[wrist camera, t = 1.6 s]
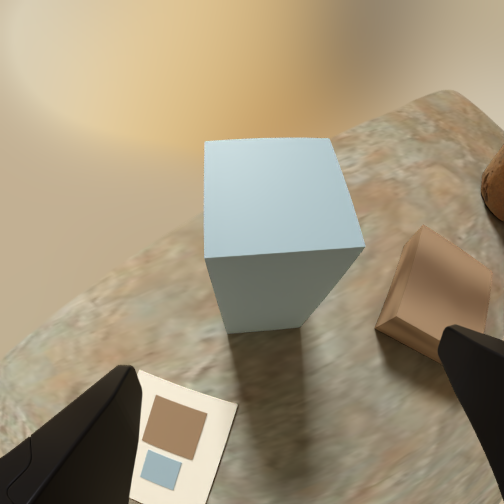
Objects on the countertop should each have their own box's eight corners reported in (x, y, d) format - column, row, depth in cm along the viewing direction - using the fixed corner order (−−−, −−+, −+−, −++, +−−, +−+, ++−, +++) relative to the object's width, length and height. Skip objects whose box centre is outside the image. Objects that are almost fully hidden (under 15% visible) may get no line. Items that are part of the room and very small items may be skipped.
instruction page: (198, 522, 13) (197, 524, 12) (106, 484, 13) (105, 485, 13) (237, 404, 17) (237, 404, 17) (140, 369, 18) (138, 369, 17)
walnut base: (449, 368, 18) (476, 361, 15) (374, 328, 19) (396, 316, 16) (469, 286, 21) (492, 271, 18) (404, 245, 23) (423, 224, 19)
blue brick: (300, 327, 20) (365, 246, 9) (227, 333, 19) (204, 258, 8) (290, 261, 22) (329, 138, 11) (223, 266, 21) (204, 141, 11)
